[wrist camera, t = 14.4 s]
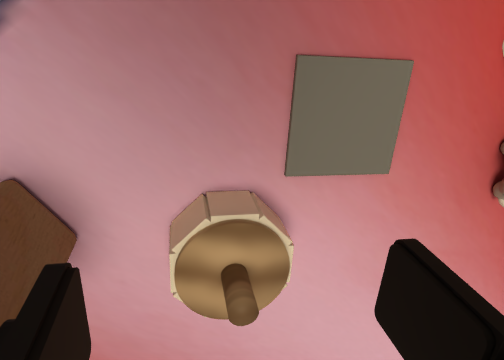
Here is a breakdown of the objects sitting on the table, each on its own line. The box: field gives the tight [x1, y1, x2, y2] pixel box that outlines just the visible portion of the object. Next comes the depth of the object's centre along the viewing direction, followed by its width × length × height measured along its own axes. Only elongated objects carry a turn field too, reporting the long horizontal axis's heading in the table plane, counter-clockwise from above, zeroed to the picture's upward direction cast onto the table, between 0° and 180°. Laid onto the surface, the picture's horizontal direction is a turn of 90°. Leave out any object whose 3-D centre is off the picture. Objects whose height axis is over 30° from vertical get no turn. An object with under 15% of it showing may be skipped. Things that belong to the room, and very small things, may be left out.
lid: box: [174, 219, 290, 326], centre depth 37 cm, size 13×13×7 cm
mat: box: [284, 55, 414, 176], centre depth 42 cm, size 14×14×1 cm
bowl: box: [169, 190, 294, 317], centre depth 43 cm, size 14×14×6 cm
